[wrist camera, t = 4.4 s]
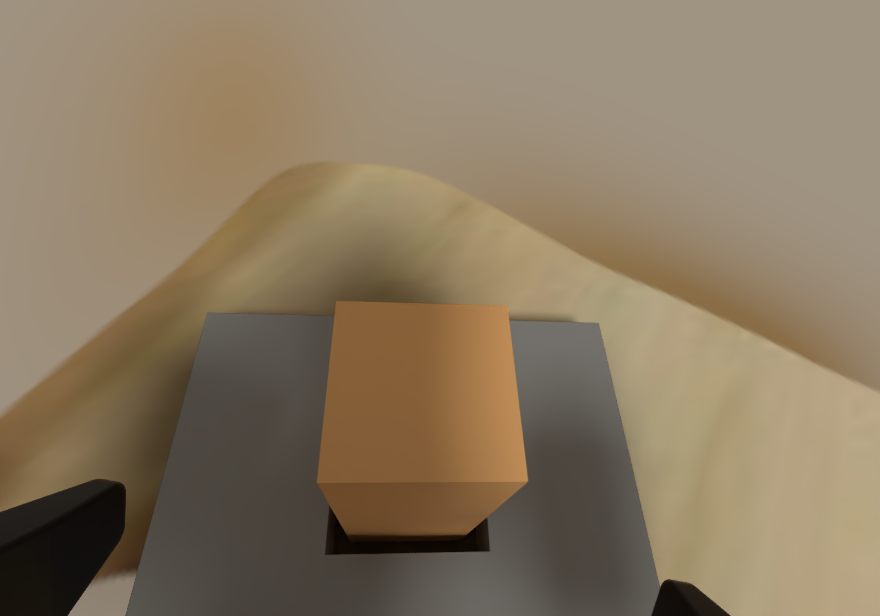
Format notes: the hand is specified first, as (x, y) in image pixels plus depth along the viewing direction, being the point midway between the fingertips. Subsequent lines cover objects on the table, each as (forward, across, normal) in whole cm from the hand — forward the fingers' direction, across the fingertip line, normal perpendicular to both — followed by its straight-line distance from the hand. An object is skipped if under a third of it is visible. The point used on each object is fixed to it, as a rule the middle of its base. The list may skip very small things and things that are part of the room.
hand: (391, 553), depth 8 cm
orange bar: (+10, 0, +5) cm, 11 cm away
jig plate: (+10, 0, +5) cm, 11 cm away
